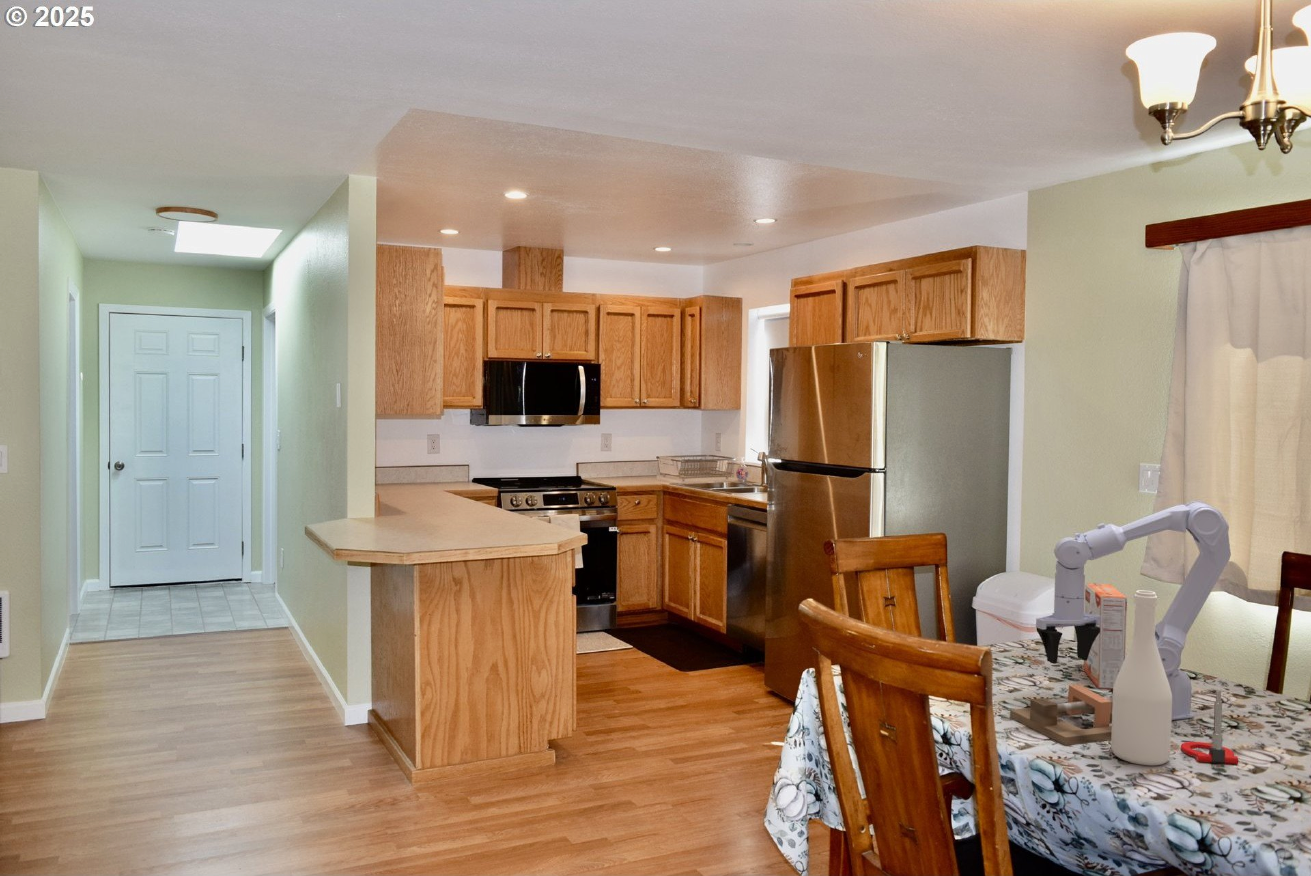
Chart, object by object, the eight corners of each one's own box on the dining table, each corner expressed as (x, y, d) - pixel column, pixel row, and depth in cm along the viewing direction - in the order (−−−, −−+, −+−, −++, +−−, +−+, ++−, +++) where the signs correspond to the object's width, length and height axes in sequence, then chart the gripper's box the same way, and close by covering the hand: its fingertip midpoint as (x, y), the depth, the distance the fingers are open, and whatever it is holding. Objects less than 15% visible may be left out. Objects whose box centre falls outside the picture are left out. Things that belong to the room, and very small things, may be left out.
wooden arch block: (1076, 711, 198) (1078, 684, 198) (1108, 730, 190) (1111, 701, 189) (1066, 713, 198) (1068, 685, 197) (1098, 731, 189) (1101, 702, 188)
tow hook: (1173, 746, 184) (1193, 762, 174) (1175, 677, 184) (1195, 690, 174) (1222, 749, 182) (1244, 766, 173) (1224, 680, 182) (1246, 693, 173)
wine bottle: (1100, 747, 181) (1106, 586, 180) (1150, 746, 182) (1156, 586, 180) (1128, 767, 172) (1134, 597, 170) (1181, 766, 173) (1187, 597, 171)
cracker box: (1081, 670, 230) (1084, 582, 229) (1109, 672, 229) (1112, 583, 228) (1095, 689, 216) (1098, 594, 215) (1125, 691, 215) (1128, 596, 214)
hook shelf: (1107, 706, 205) (1108, 680, 204) (1168, 732, 189) (1169, 704, 189) (1010, 717, 198) (1010, 690, 197) (1065, 745, 182) (1066, 716, 182)
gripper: (1084, 590, 210) (1082, 652, 211) (1027, 594, 206) (1025, 658, 206) (1108, 597, 203) (1106, 661, 204) (1050, 601, 199) (1048, 667, 200)
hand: (1067, 660), depth 205 cm, fingers open, 7 cm apart
